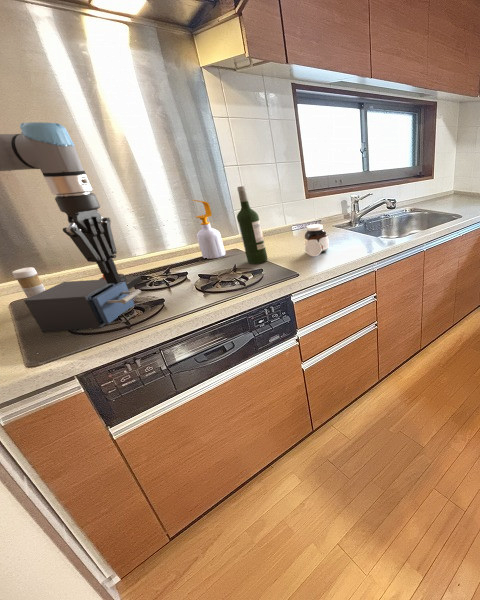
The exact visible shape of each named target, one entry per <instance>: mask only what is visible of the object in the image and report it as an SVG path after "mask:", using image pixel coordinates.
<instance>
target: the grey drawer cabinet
mask: <svg viewBox="0 0 480 600" xmlns="http://www.w3.org/2000/svg"><path fill="white" fill-rule="evenodd" d="M112 284H115V285H116V284H118V283H112ZM112 284H107V282H106V279H103V280H99V279H89V280H88V279H87V280H70V281H62V282H60V283H59V284H56V285H54V286H52V287H50V288H47V289H46V290H45V291H43V292H41V293H39V294H37V295H34V296H32V297H30V298H26V299H24V300H23V302H24V303H25V305H26V307H27V308H28V310H29V312H30V314H31V315H32V318H33V319H34V320H35V322H36V324H37V326H38V327H39V329H40V331H41V332H42V333H50V332H52V333H53V332H63V331H65V332H66V331H74V330H73V329H80V330H90V329H89V328H93V329H101V328H103V327H104V326H105V325H106V324H104V322H103V321H101V322H100V321H99V319H98V317H97V315H96V313H95V311H94V309H93V307H92V305H91V303H90V301H89V299H88V298H89V297H90V296H92V295H94V294H96V293H98V292H99V291H101V290H103V289H105V288H106V287H108V286H110V285H112ZM100 327H101V328H100Z"/></svg>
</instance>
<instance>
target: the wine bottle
mask: <svg viewBox="0 0 480 600" xmlns="http://www.w3.org/2000/svg"><path fill="white" fill-rule="evenodd" d="M236 189H237V193H238V197H239V203H240V210H239V211H238V213H237V215H236V220H237V224H238V228H239V232H240V236H241V240H242V244H243V249H244V252H245V257H246V260H247V263H248V264H250V265H260V264H263V263H266V262H268V253H267V249H266V245H265V239H264V235H263V231H262V225H261V221H260V217H259V214H258V212H256V211H255V210H254V209H252V208H251V206H250V203H249V198H248V194H247V192H246V187H245V186H244V185H243V186H237V188H236Z"/></svg>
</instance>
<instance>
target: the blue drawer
mask: <svg viewBox="0 0 480 600" xmlns="http://www.w3.org/2000/svg"><path fill="white" fill-rule="evenodd" d="M140 294H142V290H141V289H139V288H138V289H137V288H136V289H134V290H130V289H129V290H128V288H127V286H126V283H125V282H120V283H118V284H116V285H115V284H112V285H110V286H108V287H106V288H105V289H103V290H101V291H99V292H98V293H96V294H94V295H92V296H90V297H89V298H88V299H89V301H90V303H91V305H92V307H93V309H94V311H95V313H96V315H97V317H98V319H99V321H100V322H101V321H103V322H104V324H105V325H107V324H111V323H113V321H115V320H116V319H118V318H119V317H120V316H121V315H120V314H122V313H123V312H124V313H126V312H127V311H129V310H130V309H132V308H133V307H135V306H136V303H135V302H134V298H135V297H137V296H138V295H140ZM131 307H132V308H131ZM129 308H130V309H129ZM128 309H129V310H128ZM126 310H127V311H126ZM125 311H126V312H125ZM124 313H123V314H124ZM123 314H122V315H123ZM119 315H120V316H119ZM118 316H119V317H118Z"/></svg>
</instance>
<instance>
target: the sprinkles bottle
mask: <svg viewBox="0 0 480 600" xmlns="http://www.w3.org/2000/svg"><path fill="white" fill-rule="evenodd" d="M11 275H12V276H13V277H14V278H15V280H17V282H18V284H19V285H20V288H21V289H22V291H23V293H24V294H25V296H26V299H28V298H30V297H32V296H34V295H37V294H39V293H41V292H43V291H45V290H47V289H46V287H45V286H44V284H43V282H42V280H41V279H40V277H39V274H38V271H37V270H36V268H35V267H30V266H29V267H23V268H19V269H15V270H12V274H11Z"/></svg>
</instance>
